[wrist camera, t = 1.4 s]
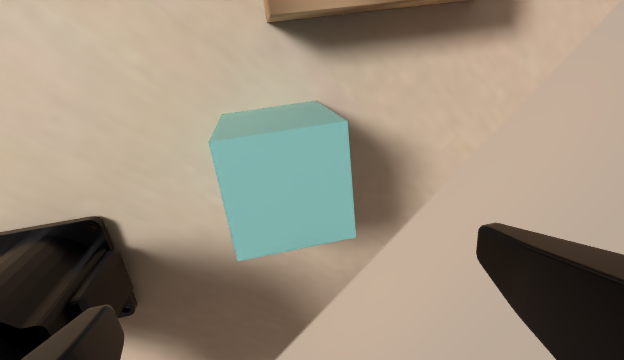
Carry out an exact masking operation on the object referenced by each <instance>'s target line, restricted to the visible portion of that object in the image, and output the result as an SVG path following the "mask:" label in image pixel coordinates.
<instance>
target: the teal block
mask: <svg viewBox="0 0 624 360" xmlns="http://www.w3.org/2000/svg"><path fill="white" fill-rule="evenodd" d="M209 146H210V150H211V154H212V158H213V162H214V166H215V171H216V175H217V179H218V183H219V187H220V191H221V195H222V200H223V204H224V208H225V212H226V216H227V220H228V224H229V229H230V233H231V237H232V241H233V245H234V249H235V253H236V258H237V261H242V260H247V259H252V258H257V257H262V256H267V255H272V254H277V253H282V252H287V251H292V250H296V249H301V248H306V247H311V246H316V245H321V244H326V243H331V242H336V241H341V240H346V239H351V238H356V230H355V216H354V202H353V188H352V175H351V161H350V147H349V134H348V121H347V120H346V119H344V118H342V117H341V116H339V115H338V114H336V113H335V112H333V111H332V110H330V109H328V108H327V107H325V106H324V105H322V104H321V103H319V102H318V101H312V102H305V103H298V104H291V105H284V106H277V107H270V108H263V109H256V110H249V111H242V112H235V113H228V114H222V116H221V118H220V120H219V122H218V124H217V126H216V128H215V130H214V132H213V134H212V136H211V138H210V140H209Z"/></svg>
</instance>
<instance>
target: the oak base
mask: <svg viewBox="0 0 624 360" xmlns="http://www.w3.org/2000/svg"><path fill="white" fill-rule="evenodd" d="M458 1H467V0H264V5H265V12H266V19H267V22H276V21H285V20H294V19H304V18H313V17H322V16H331V15H340V14H349V13H358V12H367V11H376V10H385V9H394V8H404V7H413V6H422V5H431V4H440V3H449V2H458Z"/></svg>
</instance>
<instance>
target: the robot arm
mask: <svg viewBox="0 0 624 360" xmlns="http://www.w3.org/2000/svg"><path fill="white" fill-rule="evenodd" d="M89 224H93V225H95V227H96V229H93V228H91V227H90V226H89ZM476 254H477V258H478V260H479V262H480V264H481V265H482V267H483V268H484V269H485V271H486V272H487V273H488V275H489V276H490V278H491V279H492V281H493V282H494V283H495V285H496V286H497V287H498V289H499V290H500V292H501V293H502V294H503V296H504V297H505V299H506V300H507V301H508V303H509V304H510V305H511V307H512V308H513V309H514V311H515V312H516V313H517V314H518V316H519V317H520V318H521V319H522V321H523V322H524V323H525V324H526V325H527V326H528V328H529V329H530V330H531V331H532V332H533V333H534V334H535V336H536V337H537V338H538V339H539V340H540V341H541V343H543V345H544V346H545V347H546V348H547V349H548V350H549V352H550V353H551V354H552V355H553V356H554V358H555V359H556V360H624V255H622V254H618V253H615V252H611V251H607V250H603V249H599V248H595V247H591V246H587V245H583V244H579V243H575V242H571V241H567V240H563V239H559V238H555V237H551V236H547V235H543V234H540V233H535V232H532V231H528V230H523V229H519V228H516V227H512V226H508V225H504V224H500V223H492V224H486V225H482V226H481V227H480V228H479V230H478V240H477V250H476ZM132 289H133V285H132V283H131V280H130V278H129V275H128V273H127V270H126V268H125V265H124V263H123V260H122V258H121V255H120V253H119V252H118V251H117V250H115V248H114V246H113V243H112V241H111V238H110V236H109V234H108V231H107V229H106V226H105V224H104V222H103V220H101V219H100V218H98V217H85V218H80V219H74V220H68V221H62V222H57V223H51V224H45V225H39V226H34V227H28V228H22V229H16V230H11V231H5V232H0V360H120V359H121V354H122V349H123V345H124V333H123V330H122V327H121V325H120V323H119V321H118V318H121V317H125V316H129V315H132V314H133V313H134V311H135V309H136V307H137V302H136V300H135V297H134V295H133V292H132ZM124 306H128V307H129V308H126V307H124Z"/></svg>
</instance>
